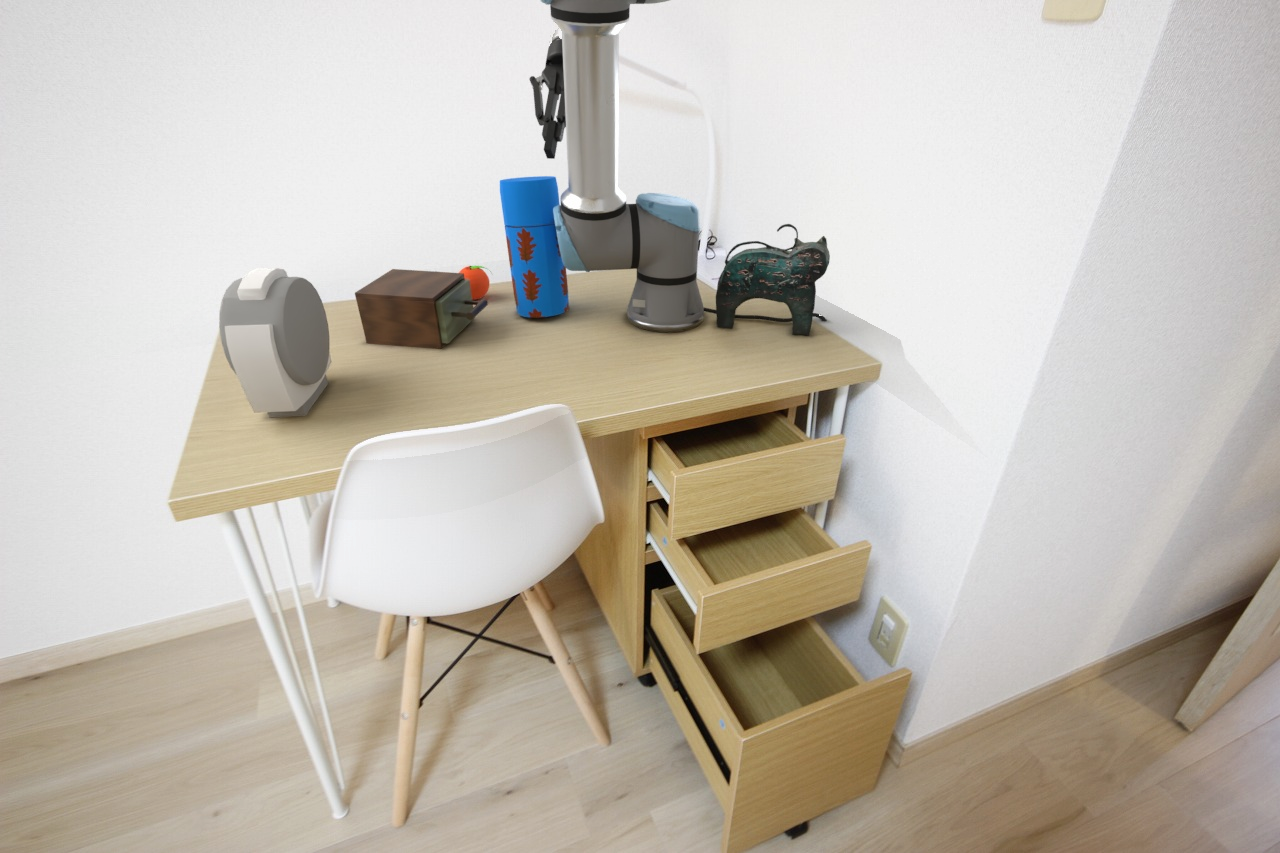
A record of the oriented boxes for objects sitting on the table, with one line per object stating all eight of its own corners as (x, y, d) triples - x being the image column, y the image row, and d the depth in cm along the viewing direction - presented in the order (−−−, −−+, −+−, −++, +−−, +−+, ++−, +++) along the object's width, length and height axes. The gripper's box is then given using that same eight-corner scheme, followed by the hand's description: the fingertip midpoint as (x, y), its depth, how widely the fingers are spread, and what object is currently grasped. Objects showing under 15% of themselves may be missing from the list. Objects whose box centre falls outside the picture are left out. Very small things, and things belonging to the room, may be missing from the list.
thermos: (560, 318, 125) (545, 180, 114) (508, 317, 127) (489, 182, 116) (576, 303, 134) (564, 175, 124) (527, 303, 136) (511, 177, 126)
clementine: (489, 290, 142) (485, 258, 139) (500, 299, 137) (496, 267, 134) (454, 296, 139) (449, 264, 135) (463, 306, 134) (459, 273, 130)
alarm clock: (293, 374, 107) (256, 253, 97) (346, 372, 108) (314, 252, 97) (246, 431, 92) (196, 295, 82) (308, 428, 93) (265, 293, 82)
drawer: (495, 319, 126) (490, 280, 122) (470, 345, 115) (464, 303, 111) (410, 313, 128) (403, 275, 124) (378, 338, 118) (369, 297, 114)
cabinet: (470, 320, 127) (464, 273, 122) (441, 349, 116) (432, 298, 111) (402, 315, 130) (392, 268, 125) (366, 343, 118) (354, 292, 113)
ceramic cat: (818, 328, 125) (834, 223, 114) (818, 341, 119) (835, 232, 109) (716, 319, 129) (723, 216, 118) (711, 331, 123) (718, 225, 113)
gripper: (530, 36, 128) (511, 140, 122) (595, 37, 126) (577, 142, 121) (540, 66, 135) (522, 165, 130) (601, 66, 133) (585, 167, 128)
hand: (549, 154), depth 125 cm, fingers closed
